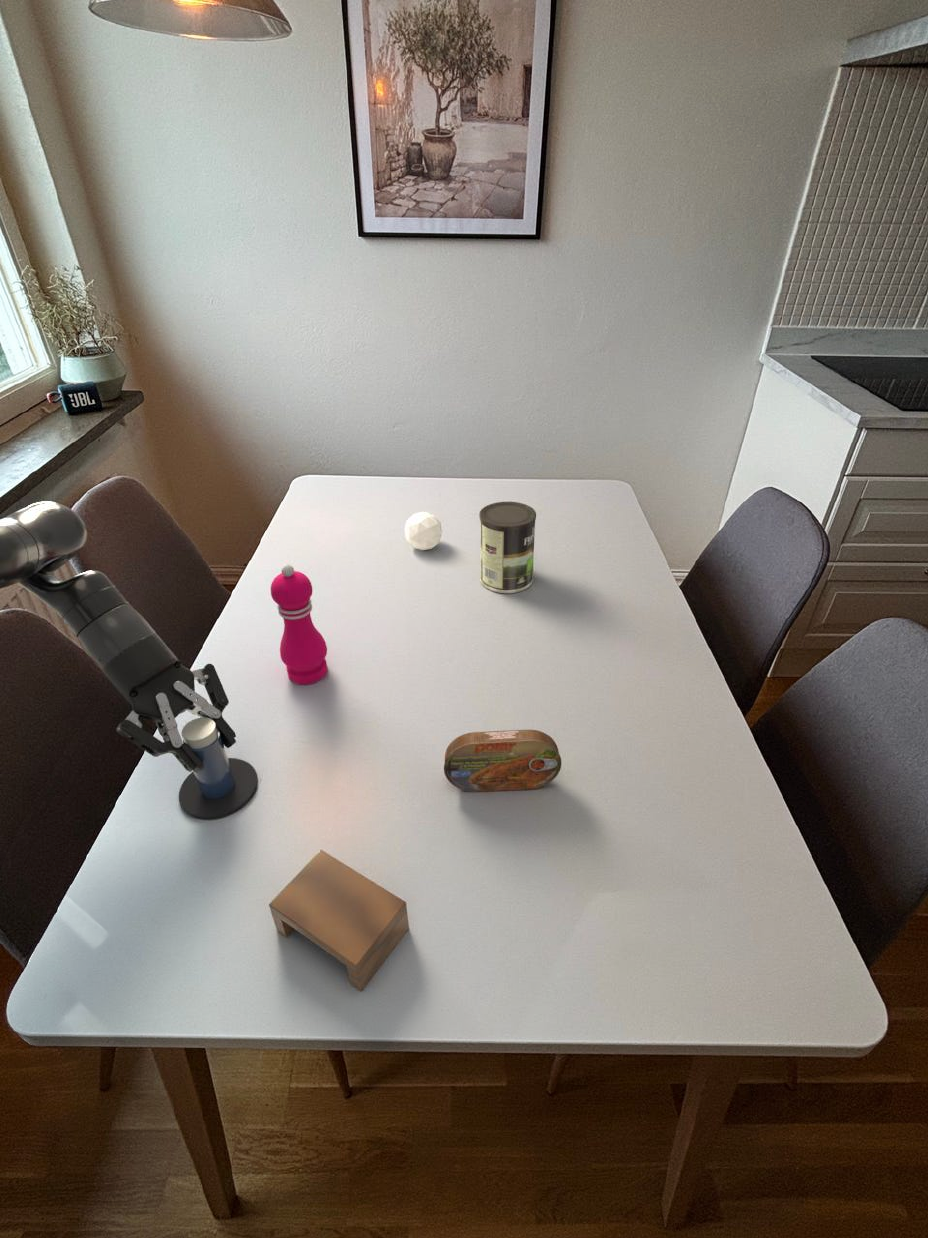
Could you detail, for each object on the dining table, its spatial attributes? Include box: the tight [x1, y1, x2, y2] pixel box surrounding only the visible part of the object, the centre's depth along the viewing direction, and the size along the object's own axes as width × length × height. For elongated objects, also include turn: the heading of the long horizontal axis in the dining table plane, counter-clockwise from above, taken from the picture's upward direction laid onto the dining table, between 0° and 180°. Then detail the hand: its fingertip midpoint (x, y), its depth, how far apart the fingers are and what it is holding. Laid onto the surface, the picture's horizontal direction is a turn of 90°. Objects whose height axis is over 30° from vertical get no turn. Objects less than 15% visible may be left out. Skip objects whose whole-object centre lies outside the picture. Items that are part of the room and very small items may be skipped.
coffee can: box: [478, 501, 537, 594], centre depth 127 cm, size 10×10×14 cm
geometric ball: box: [404, 511, 443, 551], centre depth 140 cm, size 8×8×8 cm
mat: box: [178, 757, 259, 821], centre depth 90 cm, size 10×10×1 cm
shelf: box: [268, 849, 410, 992], centre depth 72 cm, size 8×12×5 cm, turn 57°
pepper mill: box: [270, 564, 328, 685], centre depth 104 cm, size 7×7×20 cm
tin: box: [443, 729, 562, 793], centre depth 88 cm, size 15×3×8 cm, turn 92°
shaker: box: [181, 717, 235, 799], centre depth 87 cm, size 4×4×10 cm
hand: (216, 756), depth 85 cm, fingers closed on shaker, 4 cm apart
